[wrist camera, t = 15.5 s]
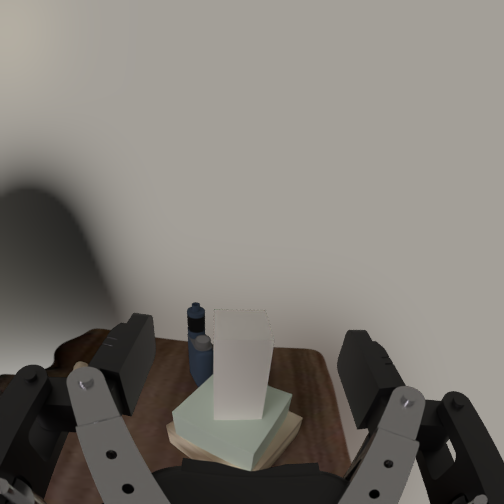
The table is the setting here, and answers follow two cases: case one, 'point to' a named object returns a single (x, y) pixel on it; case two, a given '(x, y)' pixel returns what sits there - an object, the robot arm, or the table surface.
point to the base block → (268, 458)
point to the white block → (241, 363)
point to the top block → (230, 426)
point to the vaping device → (199, 345)
